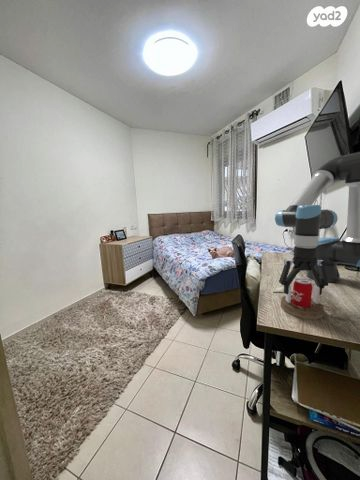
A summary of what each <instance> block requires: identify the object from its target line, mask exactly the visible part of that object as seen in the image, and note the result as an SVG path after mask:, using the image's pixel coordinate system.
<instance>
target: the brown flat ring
mask: <svg viewBox="0 0 360 480" xmlns="http://www.w3.org/2000/svg"><path fill="white" fill-rule="evenodd" d="M292 298H293V294H291V300H290V303H288V302H287V301H286V300H285V299H286V295H283V296H282V297H281V300H280V308H281V309H282V310H283V311H284V313H287V314H288V315H291V316H293V317H297V318H299V319H303V320H318V319H321V318H323V317H324V309H325V308H324V305H323V304H322V303H321V302H319V304H316V303H315V302H314V301H313V298H311V307H310V308H304V307H299V306H296V305H294V304H292Z"/></svg>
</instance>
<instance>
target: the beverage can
mask: <svg viewBox="0 0 360 480" xmlns="http://www.w3.org/2000/svg"><path fill="white" fill-rule="evenodd" d="M292 284H293V285H292V286H293V287H292V291H293V293H292V295H293V298H292V304H294V305H296V306H299V307H304V308H310V307H311V299H312V298H313V284H312V281H311V280H309V279H306V278H294V281H293V282H292Z"/></svg>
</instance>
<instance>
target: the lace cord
mask: <svg viewBox="0 0 360 480" xmlns="http://www.w3.org/2000/svg"><path fill="white" fill-rule="evenodd" d="M272 292H273V293H284V289H282V290H278V289H273V290H272ZM284 294H285V293H284ZM291 294H293V290H291Z"/></svg>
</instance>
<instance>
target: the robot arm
mask: <svg viewBox="0 0 360 480" xmlns="http://www.w3.org/2000/svg"><path fill="white" fill-rule="evenodd" d="M340 181H344V185H346V187H348V201H347V217H346V219H347V220H346V235H345V236H344V237H342V239H341V238H340V237H336V236H335V237H319V236H320V230H326V229H329V228H333V227H334V226H335V225H336V224H337V222H338V219H339V217H338V214H337V213H336V212H335V211H333V210H331V209H322V207H321V205H320V204H314V203H315V202H316V201H317V199H319V197H320V196H321V194H322V193H323V192H324V191H325V189H326V188H327V187H329V186H331V185H332V184H333V183H335V182H340ZM274 223H275V224H276V225H277V226H278V227H284V228H294V229H295V230H294V242H293V243H294V247H293V258H292V259H287V258H286V259H284V261H283V263H284V266H283V269H282V270H281V271H282V272H281V274H280V277H279V280H278V283H279V284H280V285H282V286H283V290H284V294H285V296H286V299H285V300H286V301H287V302H288V303H290V300H291V295H292V293H291V291H292V286H291V284H293V282H294V281H295V279H296V277H297V275H299V273H300V272H301V271H303V272H304V271H306V276H307V277H308V278H309V279H312V280H313V281H314V282H315V284H313V288H312V299H313V301H314V302H315V303H316V304H319V303H320V296H321V295H322V292H323V289H324V288H325V287H328V286H329V283H337V282H340V280H341V275H340V271H339V269H338V264H344V265H349V266H355V267H360V151H357V152H353V153H349V154H344V155H338V156H336V157H333V158H332V159H329V160H328V161H327V162H325V163H323V164H322V165H321V166H320V167H319V168H317V170H315V171H314V172H313V174H312V175H311V179H310V180H309V182H308V183H307V184H306V185H305V187H304V188H303V189H302V190H301V191H300V193H299V194H297V196H296V197H295V199H294V200H293V201H292V202H291V203H290V204H289V206H288V207H287V208H286V209H283V210H278V211H277V212H276V214H274ZM292 265H293V267H292V269H291V266H292ZM289 271H290V272H289Z"/></svg>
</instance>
